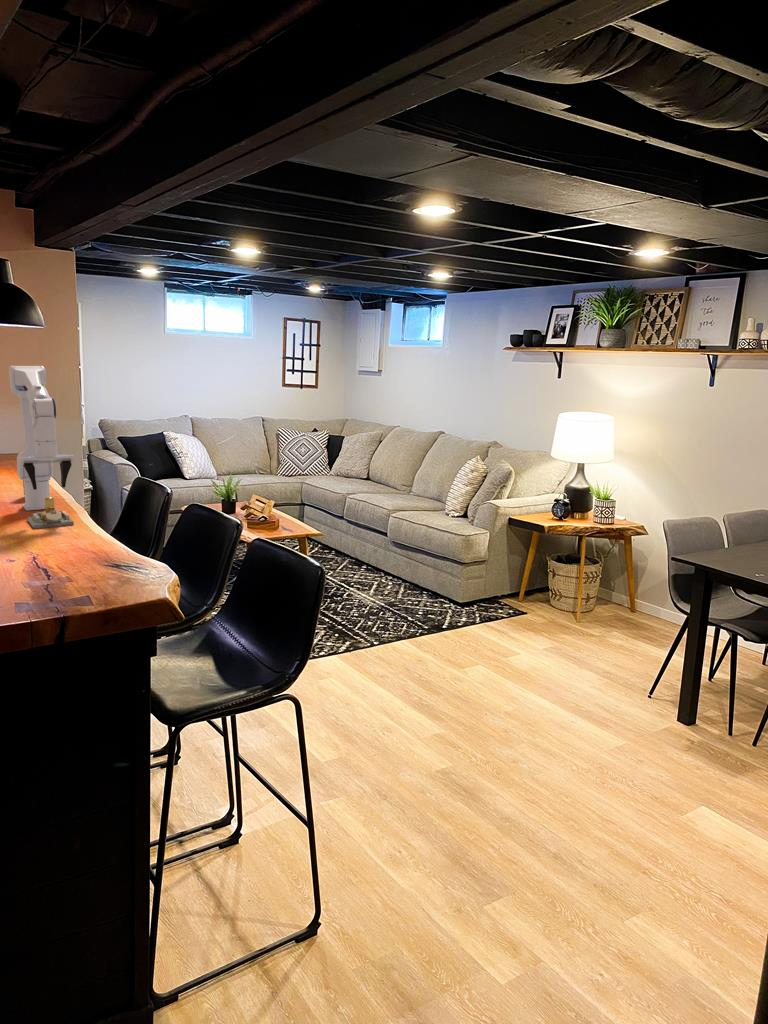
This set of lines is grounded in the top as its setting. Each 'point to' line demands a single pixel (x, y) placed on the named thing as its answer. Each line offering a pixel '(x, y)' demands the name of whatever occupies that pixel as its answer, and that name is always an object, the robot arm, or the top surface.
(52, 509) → the planet gear
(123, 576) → the top surface
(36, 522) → the carrier
